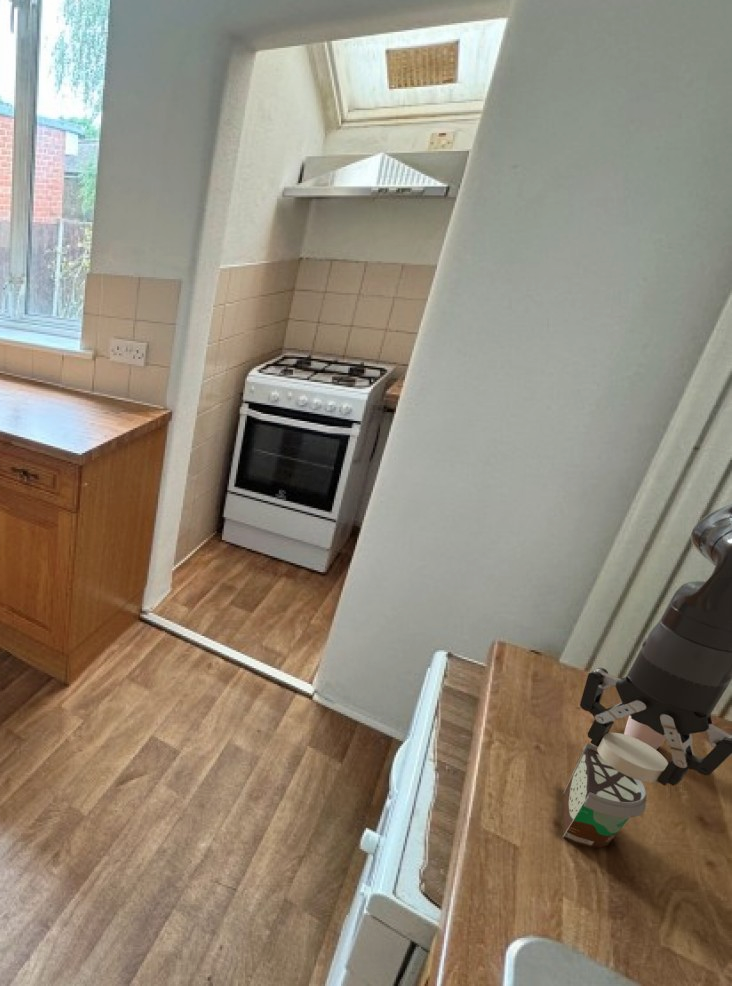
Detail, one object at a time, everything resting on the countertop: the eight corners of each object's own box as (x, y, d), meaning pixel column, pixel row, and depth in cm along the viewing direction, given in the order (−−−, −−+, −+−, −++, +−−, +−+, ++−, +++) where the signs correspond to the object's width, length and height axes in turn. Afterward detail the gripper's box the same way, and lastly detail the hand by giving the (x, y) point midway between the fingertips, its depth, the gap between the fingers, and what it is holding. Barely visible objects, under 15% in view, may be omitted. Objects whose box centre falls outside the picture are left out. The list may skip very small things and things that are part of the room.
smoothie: (616, 748, 99) (652, 681, 94) (607, 723, 104) (641, 658, 99) (671, 767, 95) (712, 699, 90) (659, 740, 100) (697, 674, 95)
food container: (624, 878, 79) (656, 825, 75) (561, 846, 83) (589, 795, 79) (618, 815, 88) (647, 764, 84) (562, 789, 91) (587, 740, 88)
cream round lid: (668, 775, 79) (677, 760, 78) (647, 792, 77) (656, 778, 76) (607, 740, 85) (615, 726, 84) (586, 755, 82) (594, 741, 81)
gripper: (785, 692, 70) (717, 794, 76) (622, 621, 82) (575, 715, 88) (762, 713, 67) (693, 818, 73) (596, 636, 79) (549, 732, 85)
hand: (628, 761), depth 80 cm, fingers closed on cream round lid, 6 cm apart
